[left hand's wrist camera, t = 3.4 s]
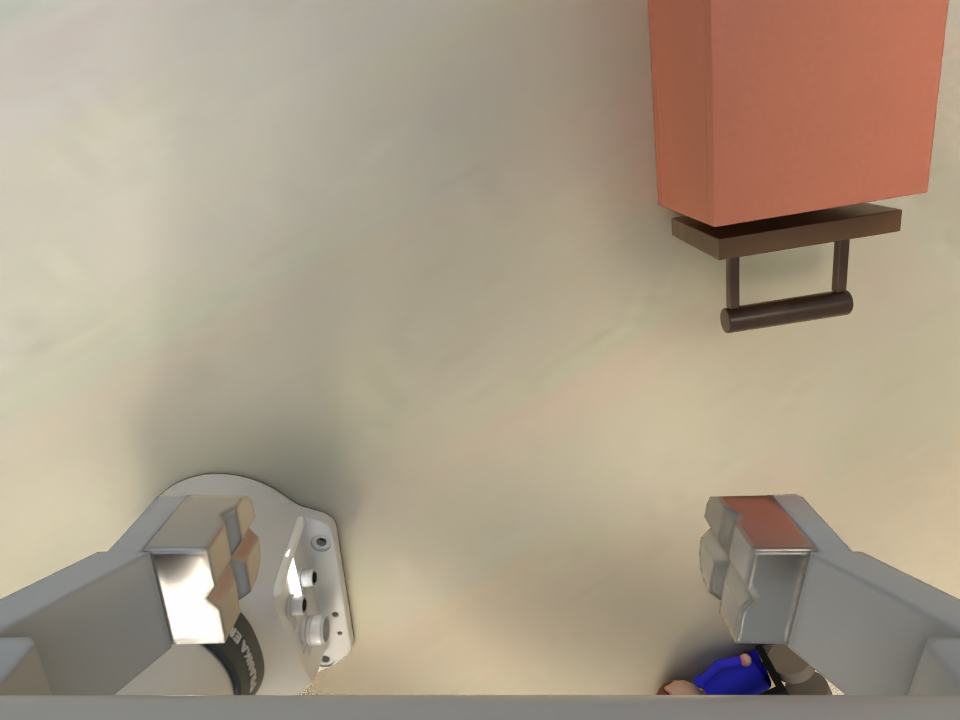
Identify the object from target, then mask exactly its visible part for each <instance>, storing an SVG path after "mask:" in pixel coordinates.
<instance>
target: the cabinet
mask: <svg viewBox="0 0 960 720" xmlns="http://www.w3.org/2000/svg"><path fill="white" fill-rule="evenodd" d="M948 1H949V0H648V9H649V29H650V48H651V68H652V88H653V108H654V128H655V148H656V168H657V188H658V204H659V205H661V206H664V207H666V208H669V209H671V210H674V211H676V212H679V213H681V214H684V215H686V216H689V217H691V218H694V219H696V220H699V221H701V222H703V223H706V224H709V225H711V226H713V227H718V226H724V225H730V224H736V223H742V222H748V221H755V220H761V219H767V218H773V217H779V216H785V215H791V214H797V213H803V212H809V211H816V210H822V209H828V208H834V207H840V206H846V205H852V204H858V203H864V202H870V201H877V200H883V199H889V198H895V197H901V196H907V195H913V194H919V193H925V192H927V189H928V180H929V171H930V162H931V153H932V144H933V135H934V126H935V117H936V108H937V99H938V91H939V82H940V73H941V64H942V55H943V46H944V37H945V28H946V19H947V10H948Z"/></svg>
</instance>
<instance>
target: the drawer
mask: <svg viewBox="0 0 960 720" xmlns="http://www.w3.org/2000/svg"><path fill="white" fill-rule="evenodd" d="M901 214H902V210H901V209H895V208H890V207H885V206H879V205H874V204H869V203H858V204H852V205H846V206H840V207H834V208H828V209H822V210H816V211H809V212H803V213H797V214H791V215H785V216H779V217H773V218H767V219H761V220H755V221H748V222H742V223H736V224H730V225H724V226H718V227H713V226H711V225H709V224H706V223H703V222H701V221H699V220H696V219H694V218H691V217H689V216H683V217H677V218H672V235H673V236H675V237H677V238H679V239H680V240H682V241H684V242H686V243H688V244H690V245H692V246H694V247H696V248H697V249H699V250H701V251H703V252H705V253H707V254H709V255H711V256H713V257H714V258H716V259H718V260H723V259H726V302H727V307H728V308H724V309H722V311H721V325H722V328H723V330H724V331H725V332H726V333H732V332H739V331H745V330H751V329H758V328H764V327H771V326H777V325H784V324H790V323H797V322H803V321H809V320H816V319H822V318H829V317H835V316H842V315H848V314H849V313H851V311H852V309H853V299H852V296H851V294H850V293H849V292H848V291H847V290H846V284H847V269H848V254H849V239H854V238H860V237H866V236H872V235H878V234H885V233H891V232H897V231H900V225H901ZM829 242H834V258H833V276H832V291H831V292H825V293H818V294H812V295H806V296H799V297H793V298H787V299H780V300H774V301H767V302H761V303H755V304H748V305H742V306H739V257H742V256H748V255H754V254H761V253H767V252H773V251H779V250H785V249H792V248H798V247H804V246H810V245H816V244H823V243H829Z"/></svg>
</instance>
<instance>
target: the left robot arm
mask: <svg viewBox="0 0 960 720" xmlns="http://www.w3.org/2000/svg"><path fill="white" fill-rule="evenodd" d="M704 517H705V518H706V520H707V522H708V524H709V525H710V527H711V528H710V529H709V530H708V531H707V532H706V533H705V534H704V535H703V536H702V537H701V543H700V551H699V558H700V569H701V573H702V576H703V580H704V582H705V584H706V586H707V589H708V591H709V592H710V593H711V594H713V595H714V596H715V597H717V598H718V599H720V600H721V604H720V610H719V612H720V614H721V616H722V618H723V620H724V622H725V624H726V626H727V628H728V630H729V632H730V634H731V636H732V638H733V640H734V641H735V643H755V644H788V647H789V648H790V649H791V650H792V651H793V652H795V653H796V654H797V655H798V656H799V657H801V658H802V659H803V660H804V661H805V662H807V663H808V664H809V665H810V666H812V667H813V668H814V669H815V670H816V671H818V672H819V673H820V674H821V675H822V676H824V677H825V678H826V679H827V680H828V681H830V682H831V683H832V684H833V685H835V686H836V687H837V688H838V689H839V690H841V691H842V692H843V693H844V694H845V695H299V694H300V693H302V692H303V691H304V690H306V689H307V688H308V687H309V686H310V684H311V683H312V682H313V680H314V679H315V677H316V675H317V672H319V671H321V670H324V669H326V668H328V667H330V666H332V665H334V664H336V663H338V662H339V661H341V660H342V659H343V658H345V657H346V656H347V655H348V654H349V653H350V652H351V650H352V647H353V644H354V636H353V629H352V623H351V616H350V610H349V604H348V597H347V591H346V584H345V578H344V571H343V565H342V558H341V552H340V545H339V539H338V533H337V526H336V523H335V521H334V519H333V518H332V517H331V516H329V515H327V514H325V513H323V512H320V511H317V510H313V509H310V508H306V507H302V506H300V505H298V504H296V503H294V502H293V501H291V500H290V499H288V498H287V497H285V496H284V495H282V494H281V493H279V492H278V491H276V490H275V489H273V488H271V487H269V486H267V485H265V484H263V483H261V482H258V481H255V480H252V479H249V478H246V477H241V476H236V475H229V474H207V475H200V476H196V477H192V478H188V479H185V480H183V481H181V482H179V483H177V484H175V485H173V486H171V487H170V488H168V489H167V490H166V491H165V492H163V493H162V494H161V495H160V496H159V497H157V498H156V499H155V500H154V501H153V503H152V504H151V505H150V506H149V507H148V508H147V509H146V510H145V511H144V512H143V513H142V515H141V516H140V517H139V518H138V519H137V520H136V521H135V522H134V523H133V524H132V526H131V527H130V528H129V529H128V530H127V531H126V532H125V533H124V534H123V535H122V537H121V538H120V539H119V540H118V541H117V542H116V543H115V544H114V545H113V546H112V547H111V549H110V550H109V551H108V552H97V553H95V554H93V555H91V556H89V557H87V558H85V559H83V560H80V561H78V562H76V563H74V564H72V565H70V566H68V567H66V568H64V569H62V570H60V571H58V572H56V573H54V574H52V575H50V576H48V577H45V578H43V579H41V580H39V581H37V582H35V583H33V584H31V585H29V586H27V587H25V588H23V589H21V590H19V591H17V592H15V593H13V594H11V595H8V596H6V597H4V598H2V599H0V720H960V599H957V598H955V597H953V596H951V595H949V594H947V593H945V592H943V591H941V590H939V589H937V588H935V587H933V586H931V585H929V584H927V583H925V582H923V581H921V580H918V579H916V578H914V577H912V576H910V575H908V574H906V573H904V572H902V571H900V570H898V569H896V568H894V567H892V566H890V565H888V564H886V563H884V562H882V561H879V560H877V559H875V558H873V557H871V556H869V555H867V554H865V553H863V552H852V551H851V550H850V549H849V547H848V546H847V545H846V544H845V543H844V542H843V541H842V540H841V539H840V538H839V537H838V535H837V534H836V533H835V532H834V531H833V530H832V529H831V528H830V527H829V526H828V524H827V523H826V522H825V521H824V520H823V519H822V518H821V517H820V516H819V515H818V513H817V512H816V511H815V510H814V509H813V508H812V507H811V506H810V505H809V504H808V502H807V501H806V500H805V499H804V498H803V497H801V496H799V495H796V494H785V495H767V496H719V497H710V498H709V500H708V503H707V505H706V511H705V516H704ZM319 538H324V539H325V541H322V540H320V539H319Z"/></svg>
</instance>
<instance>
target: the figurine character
mask: <svg viewBox="0 0 960 720" xmlns="http://www.w3.org/2000/svg"><path fill="white" fill-rule="evenodd" d="M764 645H766V644H753V645H751V646H749V647H747V648H746V650H745V651H744V653H750V655H751V657H752V658H751V657H750V656H749V654H741V655H740V656H735V657H729V658H724V659H719V660H715V661H714V663H713V664H712V665H711V666H710V667H709V668H708V669H707V670H706V671H705V672H704V673H703V674H702V675H701V676H700V675H696V676H695V677H694V679H693V682H694V684H695V685H696V686H697V687H698V688H703V689H704V690H703V691H702V692H701V691H700V690H699V689H698V688H697V687H696V686H695V685H693V684H692V683H690V682H688V681H685V680H671V681H669V682H667V683H665V684H664V685H663V686H662V687H661V688H660V689H659V691H658V693H657V695H832V692H831V690H830V687H829V685H828V683H827V681H826V680H825V678H824V677H823V676H822V675H820V674H819V673H817V672H815V669H814V668H813V667H812V666H810V665H809V664H808V663H807V662H805V661H804V660H803V659H802V658H801V657H799V656H798V655H797V654H796V653H795V652H793V651H792V650H791V649H790V648H789V647H788V644H775V645H774V646H773V647H772V648H771V649H770V650H769V652H768V656H767V654H766V652H765V650H764V648H763V647H762V646H764ZM756 650H757V651H758V653H759V655H760V657H761V659H762V661H763V663H762V662H761V660H760V658H759V655H758V653H757V651H756ZM767 671H768V672H769V674H770V676H771V678H772V680H773V682H774V684H775V686H776V687H774V688H771V689H769V688H770V687H771V681H770V678H769V675H768V672H767ZM781 681H783V682H786V684H785V686H784V685H783V684H782V682H781ZM768 689H769V690H768Z"/></svg>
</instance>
